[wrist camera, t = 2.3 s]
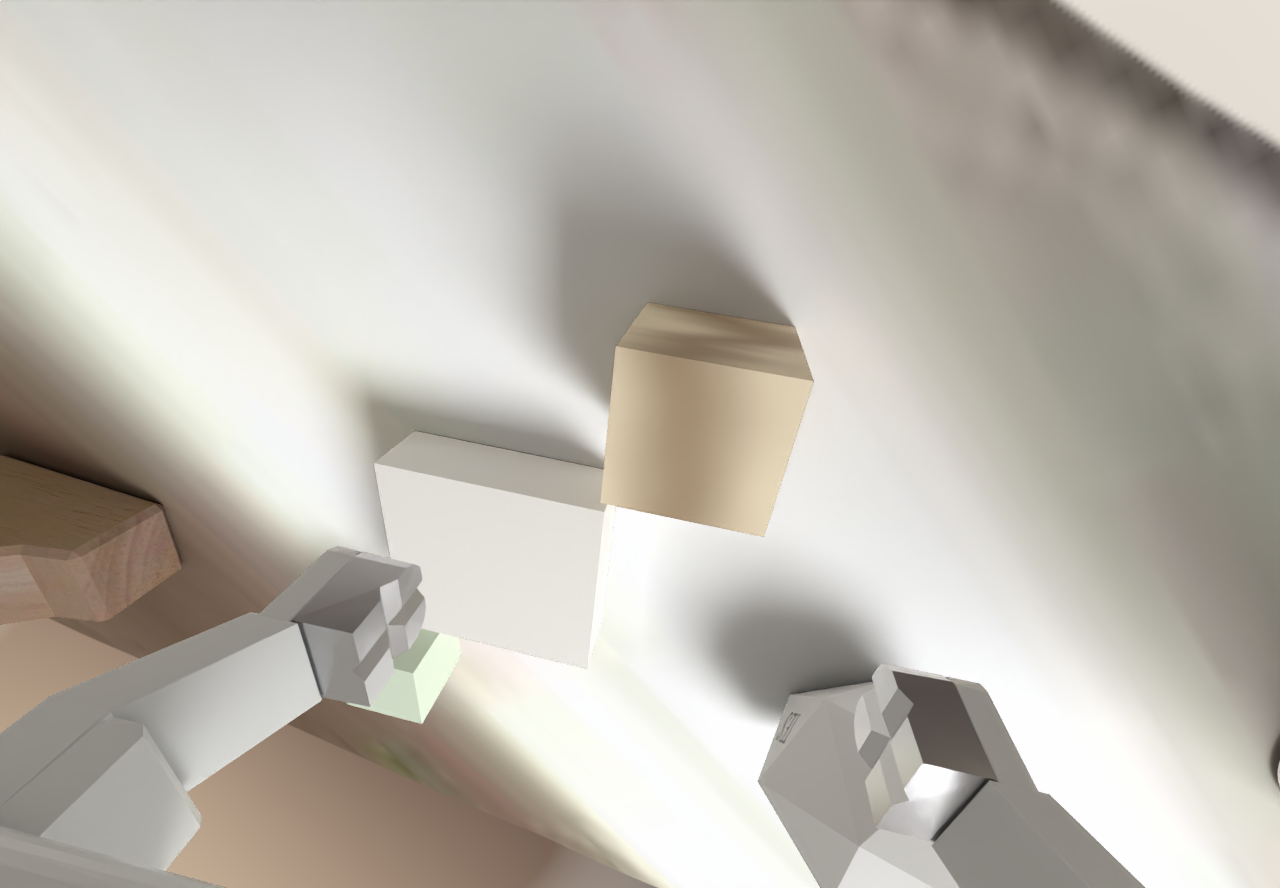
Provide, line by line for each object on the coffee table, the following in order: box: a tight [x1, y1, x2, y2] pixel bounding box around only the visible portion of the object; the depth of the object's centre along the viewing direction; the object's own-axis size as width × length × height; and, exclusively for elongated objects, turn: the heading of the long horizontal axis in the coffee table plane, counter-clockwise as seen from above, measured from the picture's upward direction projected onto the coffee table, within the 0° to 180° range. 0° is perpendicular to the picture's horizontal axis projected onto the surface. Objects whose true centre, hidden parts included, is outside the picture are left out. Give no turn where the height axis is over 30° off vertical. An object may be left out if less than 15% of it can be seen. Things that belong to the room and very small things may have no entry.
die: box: [758, 681, 959, 888], centre depth 24 cm, size 8×9×10 cm
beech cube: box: [600, 302, 814, 537], centre depth 17 cm, size 6×6×6 cm
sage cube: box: [347, 629, 461, 724], centre depth 29 cm, size 4×4×4 cm
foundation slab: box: [374, 431, 616, 669], centre depth 24 cm, size 10×10×3 cm
